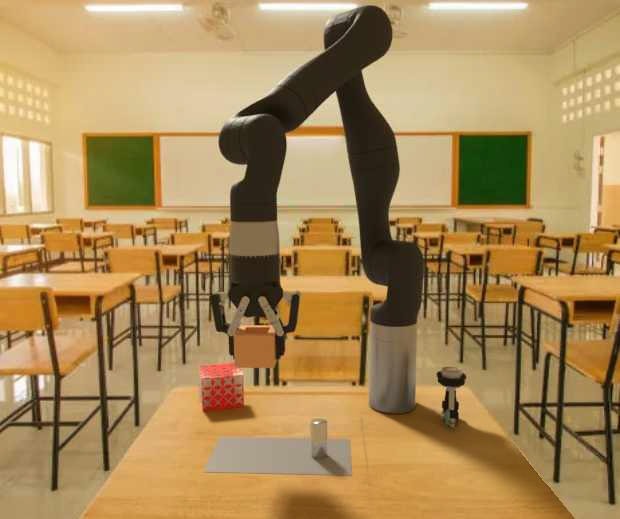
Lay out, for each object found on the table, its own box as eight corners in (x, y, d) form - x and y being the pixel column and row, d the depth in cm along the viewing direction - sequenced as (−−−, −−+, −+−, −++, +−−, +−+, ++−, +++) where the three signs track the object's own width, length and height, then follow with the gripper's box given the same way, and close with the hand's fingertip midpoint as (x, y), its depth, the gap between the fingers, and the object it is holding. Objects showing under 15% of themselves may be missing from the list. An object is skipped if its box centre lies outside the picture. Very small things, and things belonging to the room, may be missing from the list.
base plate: (219, 444, 95) (219, 436, 95) (349, 447, 94) (349, 439, 94) (203, 481, 83) (203, 471, 83) (351, 484, 82) (351, 475, 82)
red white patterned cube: (199, 403, 114) (198, 365, 113) (238, 399, 116) (237, 362, 115) (202, 418, 106) (201, 378, 105) (244, 414, 108) (243, 374, 107)
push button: (467, 431, 100) (469, 377, 99) (437, 429, 101) (439, 376, 100) (462, 416, 107) (464, 365, 106) (434, 414, 108) (435, 364, 106)
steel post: (310, 460, 90) (311, 418, 89) (327, 460, 89) (327, 418, 89) (310, 468, 87) (310, 425, 86) (326, 468, 87) (327, 425, 86)
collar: (241, 355, 90) (240, 325, 89) (278, 355, 90) (278, 325, 89) (234, 367, 84) (233, 335, 84) (274, 368, 84) (273, 335, 83)
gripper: (303, 247, 88) (305, 351, 90) (213, 248, 89) (216, 350, 91) (300, 253, 81) (301, 366, 83) (201, 254, 81) (205, 365, 84)
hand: (257, 357), depth 87 cm, fingers closed on collar, 6 cm apart
